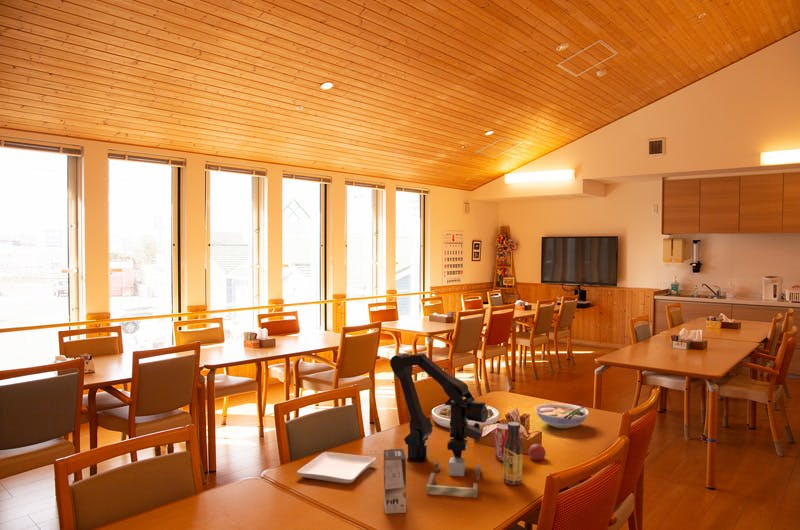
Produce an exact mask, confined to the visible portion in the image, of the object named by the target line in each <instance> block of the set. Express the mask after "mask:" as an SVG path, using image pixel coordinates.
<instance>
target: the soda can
mask: <svg viewBox="0 0 800 530" xmlns="http://www.w3.org/2000/svg"><path fill="white" fill-rule="evenodd" d="M507 436H508V423H506V424H505V423H504V424H501V423H500V424H497V425H496V428H495V430H494V456H495V458H496V459H498V460H499V461H501V462H503V457H504V445H505V442H506V439H507Z"/></svg>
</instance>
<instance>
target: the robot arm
mask: <svg viewBox="0 0 800 530" xmlns="http://www.w3.org/2000/svg"><path fill="white" fill-rule="evenodd" d="M389 366H390V368H391V370H392V372H393V374H394V376H395V377H397V379H398V380H399V382H400V387H401V389H402V393H403V397H404V399H405V404H406V407H407V411H408V414H409V417H410V418H409V426H408V428H409V434H408V435H406V436H405V437H404V443H405V445H407V457H406V462H421V463H424V462H425V461H426V459H427V457H428V445H426V441H428V440H429V437H430V436H431V435H432V433H433V428H434V425H433V423H432V421H431V420H432V419H431V417H430V416H429V415H428V416H427V417H426V415H425V414H424V412H423V409H422V406H421V403H420V402H421V401H420V399H419V395H418V392H417V390H416V386H415V382H414V379H413V368H414V366H418V367H419V368H420V369H421V370H422V371H423V372H424V373H426V374H427V375H428V376H430V377H431V378H432V379H433V380H434V381H435V382H436V383H438V384H439V385H440V386H441V388H442V390H443V392H444V393H445V394H446V396H448V399H447V401H446V402H444V405H450V428H449V430H450V432H449V438H450V439H448V440H447V441H448V442H447V445H446V446H447V447H446V448H447V450H448V451H451V452H452V454H453V456H454V458H462V454H463V451H466V450H467V446H468V445H467V444H468V438H469V439H473V440H475V441H476V442H480V441H481V439H482V436H483V432H484V429H480V424H478V423H475V424H474V425H473V426H472V425H469V424H468V421H467V420H466V419H468V420H470V421H476V422H483V423H485V422H486V420H487V417H488V410H487V407H486V406H487V405H486V402H485V401H476V402H475V399H476V398H474V396H473V394H472V393H471V392H470V390H469V385H467V383H466V382H465V381H462V380H460V378H457V377H454V376H452V375H450V374H448V372H446V371H445V370H444V369H442V368H441V367H440V366H439V365H437V364H436V362H434V361H433V360H431V358H429V357H428V356H427V354H426V353H424V352H420V353H414V354H408V353H406V352H404V353H399V354H396V355H394V356H392V357H391V358H390V360H389ZM463 398H465V399H464V400H463ZM485 405H486V406H485Z"/></svg>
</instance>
